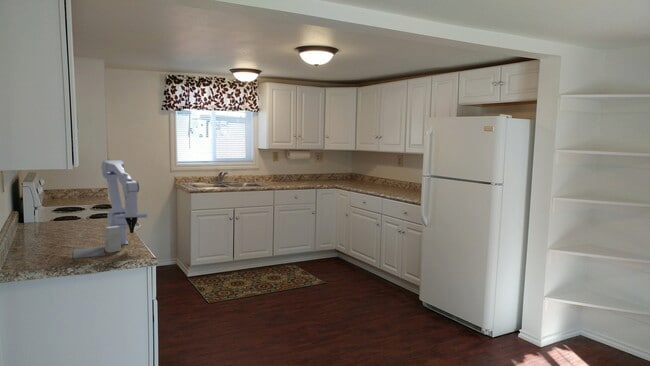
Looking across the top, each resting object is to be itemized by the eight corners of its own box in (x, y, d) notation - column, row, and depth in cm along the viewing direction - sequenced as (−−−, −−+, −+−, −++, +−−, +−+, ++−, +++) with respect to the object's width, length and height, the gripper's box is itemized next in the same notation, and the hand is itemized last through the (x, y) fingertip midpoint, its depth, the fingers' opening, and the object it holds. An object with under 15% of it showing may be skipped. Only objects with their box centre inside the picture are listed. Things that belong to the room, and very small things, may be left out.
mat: (73, 250, 226) (73, 249, 226) (103, 247, 232) (103, 246, 232) (73, 258, 210) (73, 257, 210) (104, 256, 216) (104, 255, 216)
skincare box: (117, 249, 230) (116, 225, 228) (121, 250, 227) (120, 226, 226) (104, 251, 225) (104, 227, 224) (108, 252, 222) (108, 228, 221)
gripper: (115, 207, 221) (116, 235, 222) (147, 205, 228) (148, 233, 229) (114, 205, 227) (115, 232, 228) (146, 204, 234) (146, 230, 235)
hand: (131, 232), depth 229 cm, fingers closed
